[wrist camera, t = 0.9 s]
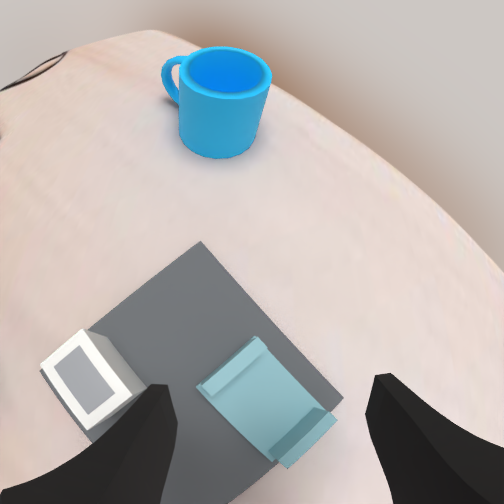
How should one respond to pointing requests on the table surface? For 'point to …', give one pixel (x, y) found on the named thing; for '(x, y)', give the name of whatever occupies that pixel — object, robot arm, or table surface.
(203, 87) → the mug
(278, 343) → the desk mat
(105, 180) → the table surface
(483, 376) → the table surface
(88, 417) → the connector plug
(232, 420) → the connector holder
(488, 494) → the robot arm
